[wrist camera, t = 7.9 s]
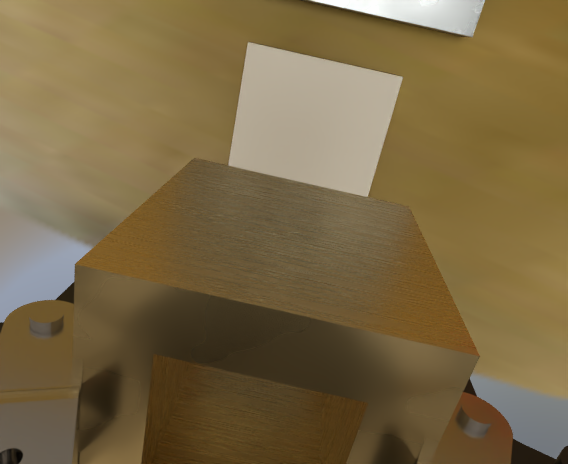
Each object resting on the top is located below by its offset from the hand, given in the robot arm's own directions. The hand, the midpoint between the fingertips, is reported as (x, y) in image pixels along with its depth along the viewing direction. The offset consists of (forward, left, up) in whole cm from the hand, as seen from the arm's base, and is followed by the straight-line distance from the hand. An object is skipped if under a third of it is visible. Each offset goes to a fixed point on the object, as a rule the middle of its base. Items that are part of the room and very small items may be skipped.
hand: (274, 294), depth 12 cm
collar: (0, 0, -1) cm, 1 cm away
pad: (0, 0, -21) cm, 21 cm away
